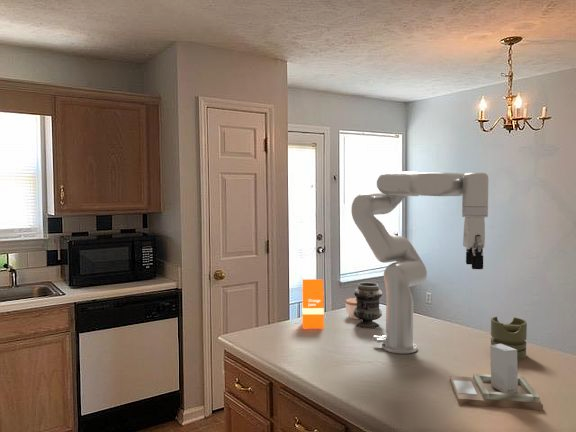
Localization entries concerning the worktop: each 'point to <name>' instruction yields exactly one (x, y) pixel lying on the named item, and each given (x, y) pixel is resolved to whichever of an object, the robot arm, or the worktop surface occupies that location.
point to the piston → (510, 335)
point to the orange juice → (313, 303)
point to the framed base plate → (493, 393)
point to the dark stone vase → (367, 305)
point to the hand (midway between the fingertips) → (474, 266)
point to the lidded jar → (351, 307)
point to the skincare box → (504, 368)
